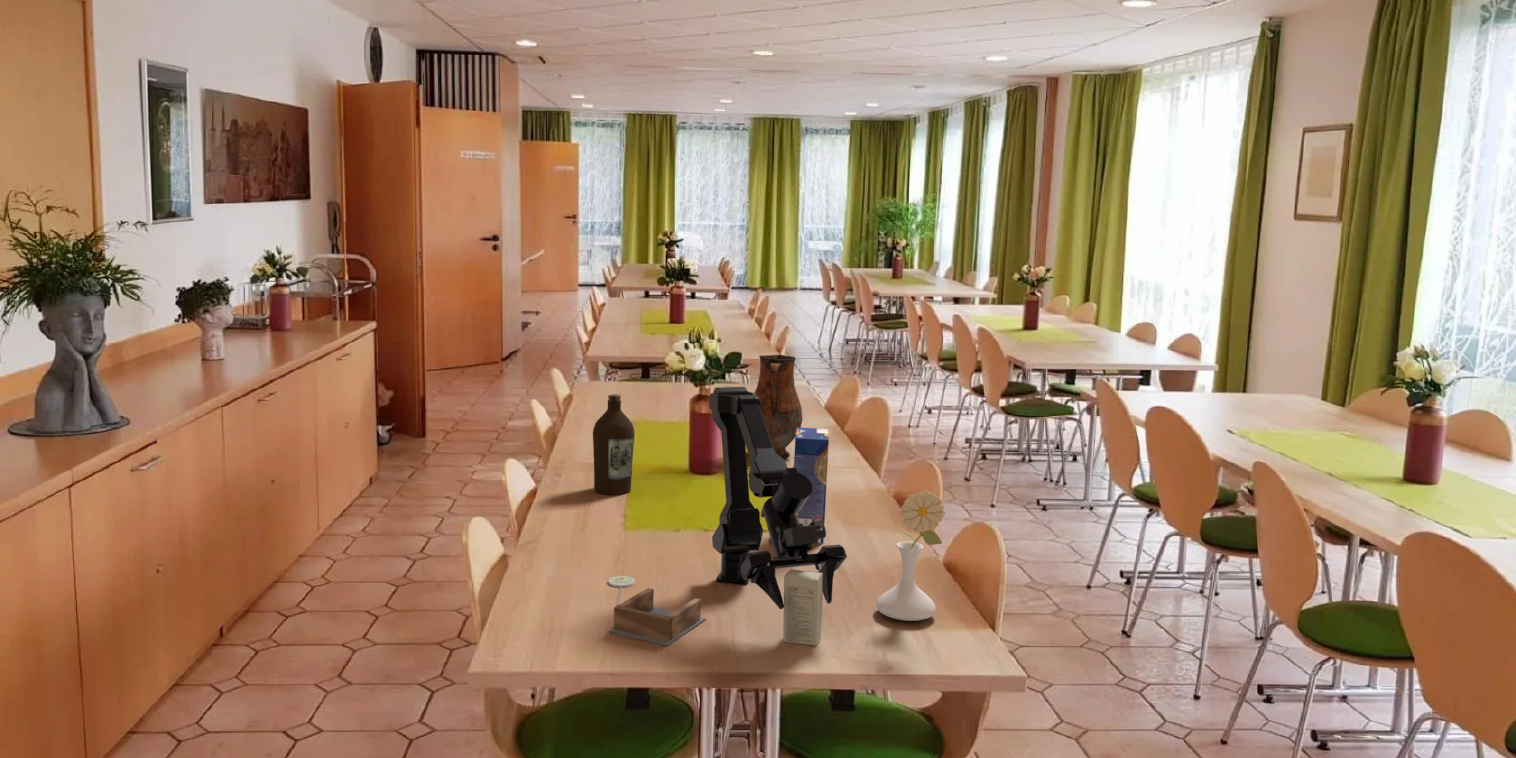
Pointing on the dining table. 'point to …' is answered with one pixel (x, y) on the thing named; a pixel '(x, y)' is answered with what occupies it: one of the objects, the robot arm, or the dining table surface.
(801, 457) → the juice carton
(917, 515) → the flower in vase
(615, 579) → the sign
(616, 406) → the olive oil
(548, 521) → the dining table surface
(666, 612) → the mat
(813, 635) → the skincare box
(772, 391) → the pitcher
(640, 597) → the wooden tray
